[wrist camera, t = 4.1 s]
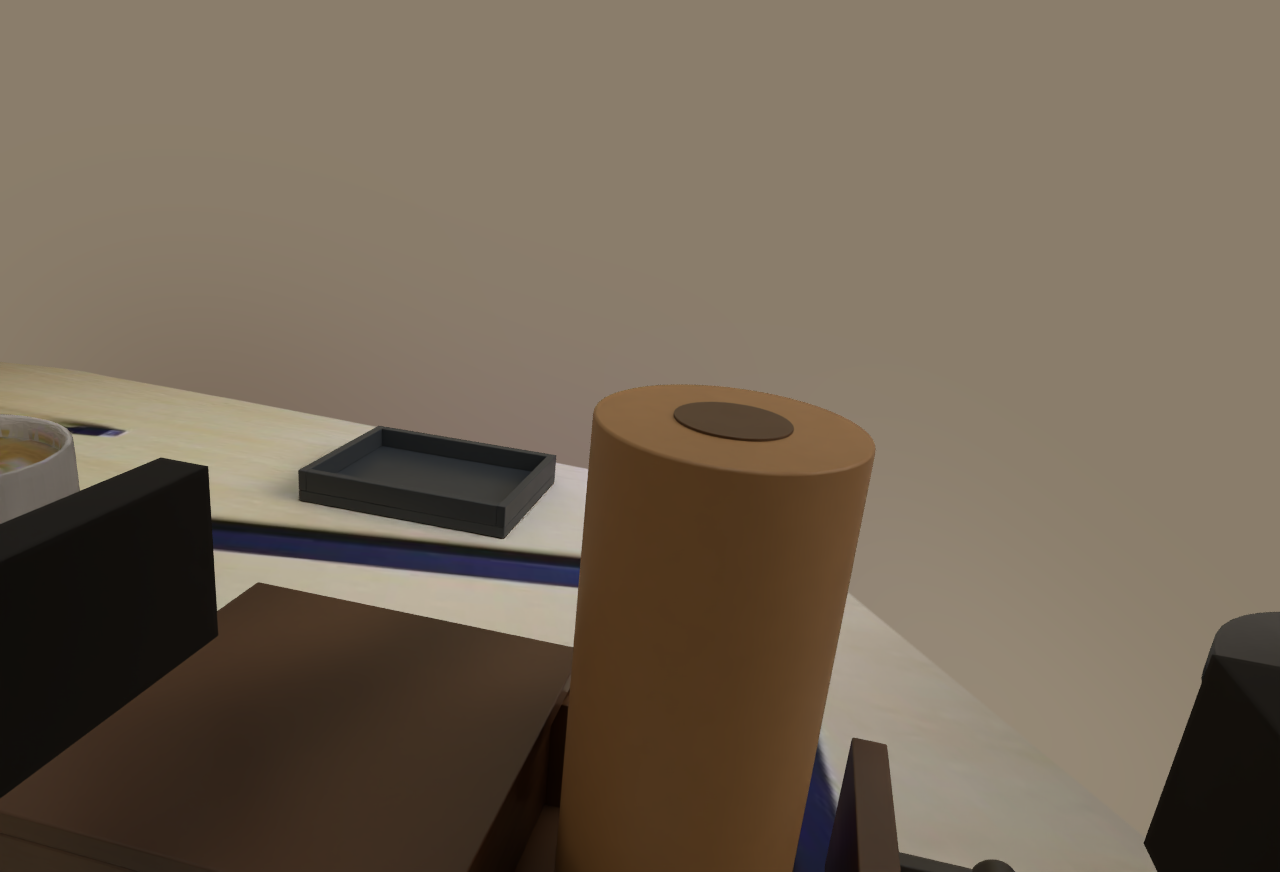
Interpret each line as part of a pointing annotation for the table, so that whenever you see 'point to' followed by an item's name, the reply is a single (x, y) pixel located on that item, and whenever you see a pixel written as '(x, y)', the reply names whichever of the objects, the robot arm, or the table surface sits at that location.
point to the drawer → (859, 846)
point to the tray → (430, 480)
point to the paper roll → (705, 626)
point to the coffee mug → (34, 464)
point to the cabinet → (301, 749)
